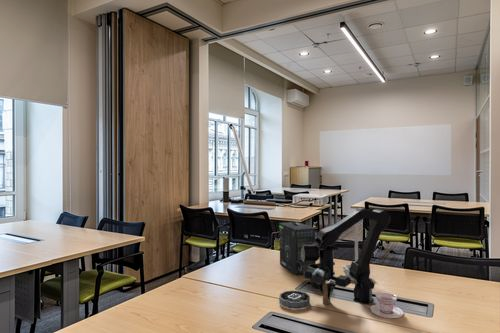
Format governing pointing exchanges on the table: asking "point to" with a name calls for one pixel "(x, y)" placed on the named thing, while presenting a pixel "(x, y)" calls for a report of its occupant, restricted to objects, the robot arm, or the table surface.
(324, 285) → the tan wooden plank
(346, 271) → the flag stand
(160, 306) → the table surface
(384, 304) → the teacup
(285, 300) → the tin
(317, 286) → the mug
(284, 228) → the headset box
